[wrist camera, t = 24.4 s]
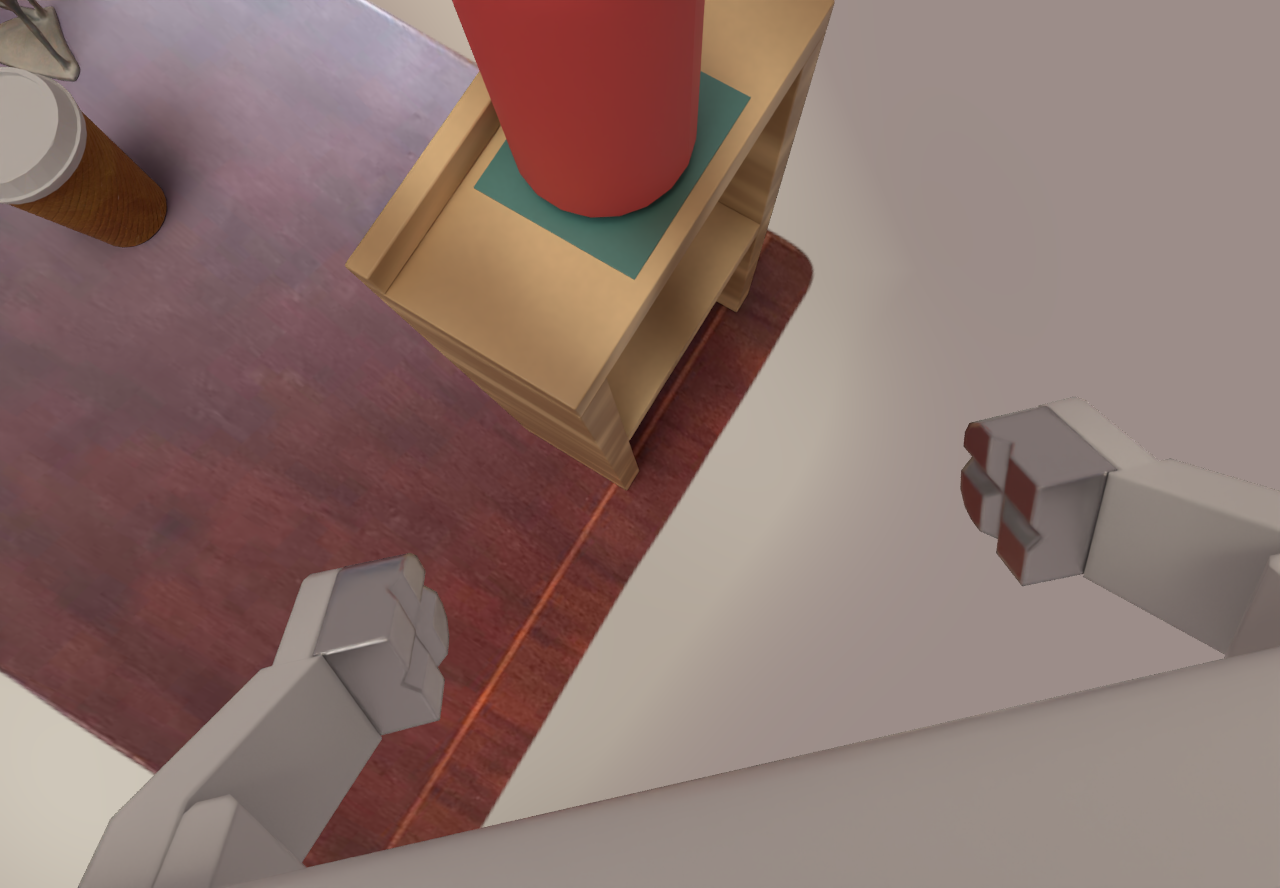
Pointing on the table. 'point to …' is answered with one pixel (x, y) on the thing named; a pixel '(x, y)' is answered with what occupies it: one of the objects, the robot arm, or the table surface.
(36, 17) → the figurine
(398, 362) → the table surface
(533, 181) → the beer can
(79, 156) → the disposable coffee cup
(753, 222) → the shelf
